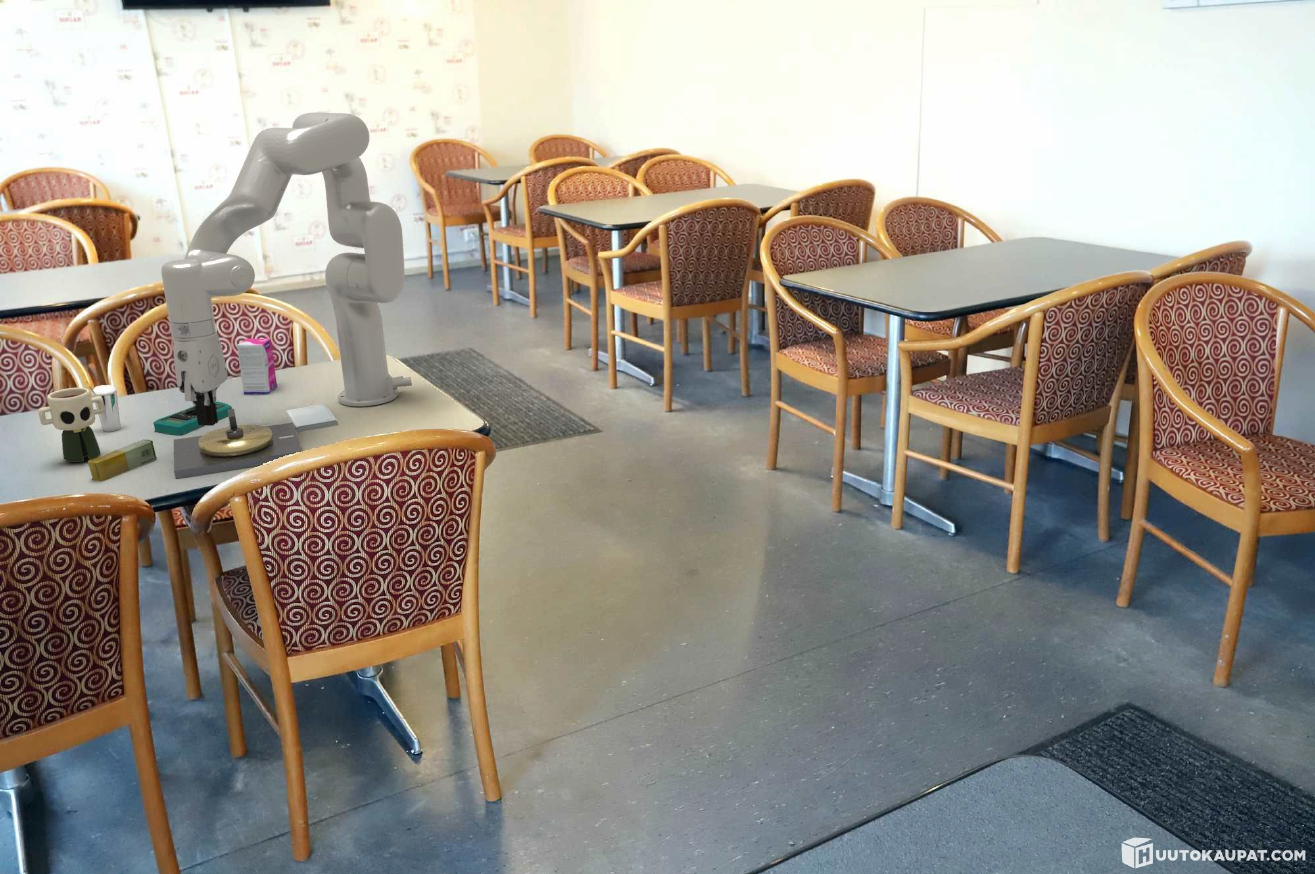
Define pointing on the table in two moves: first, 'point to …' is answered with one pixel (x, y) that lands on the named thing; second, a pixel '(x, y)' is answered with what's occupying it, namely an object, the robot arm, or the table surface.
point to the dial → (235, 439)
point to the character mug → (74, 421)
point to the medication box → (122, 460)
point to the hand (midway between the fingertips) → (208, 423)
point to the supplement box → (257, 366)
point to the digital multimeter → (186, 420)
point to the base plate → (198, 463)
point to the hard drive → (311, 417)
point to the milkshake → (108, 407)
